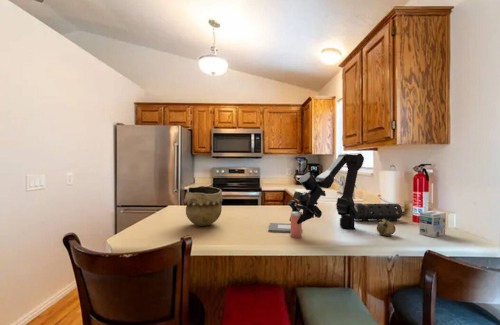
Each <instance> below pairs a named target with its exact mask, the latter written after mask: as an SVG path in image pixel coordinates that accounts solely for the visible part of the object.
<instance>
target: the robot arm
mask: <svg viewBox="0 0 500 325" xmlns="http://www.w3.org/2000/svg"><path fill="white" fill-rule="evenodd" d="M364 161H365V157H364V155H363V153H359V152H358V153H339V154H338V155H337V158H335V160H334V161H333V162H332V163H331V165H330V166H329V167H328V168H327V169H326V171H325V170H324V171H323V172H322V173H320V174H319V175H317V176H316V177H314V175H313V174H312V172H309V171H308V172H307V173H305V174H303V175H302V176H300V178H299V180H298V181H299V183H300V184H301V186H302V187H303V188H304V189H305V190H306V191H304V192H301V191H294V192H293V196H292V199H290V200H288V202H287V205H288V206H289V207H290V208H291V212H293V211H297V212H301V210H302V215H301V216H300V218H299V219H298V221H297V224H300V223H305V222H306V221H308V220H310V219H314V218H319V219H320V218H321V217H322V215H323V212H322V210H321V209H320V208H319V207H318V204H319V203H318V200H319V199H320V198H321V196H322V197H326V195H327V194H326V191H325V190H324V189H330V188H331V187H332V185H333V183H334V181H335V177H336V175H337V174H339V172H340V170H342V168H343V167H344V166H346V167H347V171H346V177H345V182H344V187H343V191H342V195H341V197H337V198H336V200H337V201H336V204H335V206H336V210H337V214H338V216H340V218H339V226H340V228H341V229H343V230H356V227H355V220H356V219H355V218H356V217H357V216H358V212H357V211H356V209H355V208H354V204H355V203H356V202H355V201H354V198H353V197H354V191H355V188H356V182H357V177H358V173H359V170H360V169H361V168H362V167H363V164H364ZM293 199H295V200H293ZM289 221H290V223H291V216H289Z"/></svg>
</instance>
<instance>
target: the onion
mask: <svg viewBox="0 0 500 325" xmlns="http://www.w3.org/2000/svg"><path fill="white" fill-rule="evenodd" d="M377 223H378V224H377V226H376V231H377V233H378V234H379V235H381V236H384V237H385V236H386V237H390V236H392V235H393V234H394V233H395V232H396V230H397V229H396V226H395V225H394V224H393V223H392V222H390V220H385V219H382V220H381V221H378V222H377Z"/></svg>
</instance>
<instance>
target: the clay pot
mask: <svg viewBox="0 0 500 325" xmlns="http://www.w3.org/2000/svg"><path fill="white" fill-rule="evenodd" d="M222 191H223V190H222V189H221V188H218V187H213V186H210V185H209V186H208V185H200V186H199V185H198V186H194V187H191V186H189V187H187V190H186V193H185V195H184V199H183V201H182V203H183V204H184V205H186V206H185V215H186V217H187V219H188V220H189V221H190V222H191V223H192V224H194V225H196V226H201V227H203V226H210V225H212V224H214V223H215V222H216V221H217V220H218V219H219V218H220V216H221V215H222V211H223V210H222V209H223V208H222V206H223V205H222V203H223V201H224V198H223V192H222Z"/></svg>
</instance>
